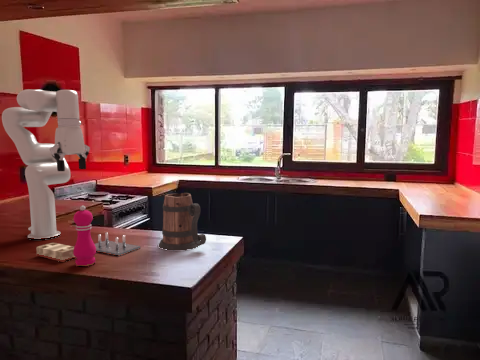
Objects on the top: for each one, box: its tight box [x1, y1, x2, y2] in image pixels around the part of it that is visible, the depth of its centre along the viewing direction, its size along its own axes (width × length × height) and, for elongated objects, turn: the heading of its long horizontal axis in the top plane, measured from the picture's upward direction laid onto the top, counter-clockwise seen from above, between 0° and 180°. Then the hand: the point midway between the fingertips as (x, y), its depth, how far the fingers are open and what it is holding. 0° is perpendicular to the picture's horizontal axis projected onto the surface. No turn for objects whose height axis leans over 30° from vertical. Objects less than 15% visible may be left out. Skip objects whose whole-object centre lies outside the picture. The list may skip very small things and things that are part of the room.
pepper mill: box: [72, 205, 97, 265], centre depth 133 cm, size 7×7×20 cm
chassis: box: [94, 232, 141, 256], centre depth 151 cm, size 18×11×6 cm, turn 61°
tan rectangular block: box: [36, 242, 75, 260], centre depth 142 cm, size 14×7×4 cm, turn 61°
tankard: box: [158, 192, 207, 251], centre depth 154 cm, size 24×17×20 cm
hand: (72, 170), depth 150 cm, fingers open, 9 cm apart
